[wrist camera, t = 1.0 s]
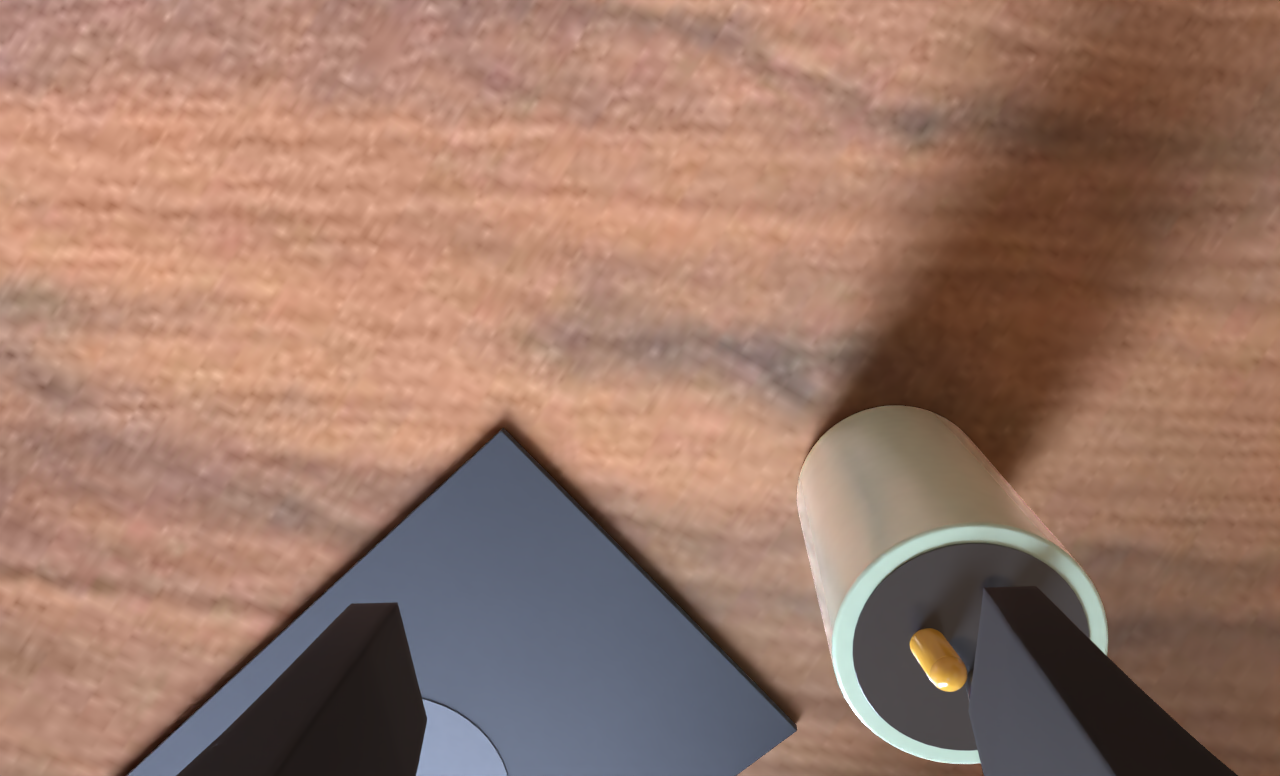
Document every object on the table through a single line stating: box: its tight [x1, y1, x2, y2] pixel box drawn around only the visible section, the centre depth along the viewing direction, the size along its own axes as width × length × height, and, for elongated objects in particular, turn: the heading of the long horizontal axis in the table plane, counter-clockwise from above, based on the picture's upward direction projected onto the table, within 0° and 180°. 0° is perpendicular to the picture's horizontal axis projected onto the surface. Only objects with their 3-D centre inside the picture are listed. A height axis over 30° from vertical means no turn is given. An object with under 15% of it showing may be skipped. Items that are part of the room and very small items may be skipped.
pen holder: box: [797, 405, 1108, 764], centre depth 22 cm, size 5×5×10 cm
